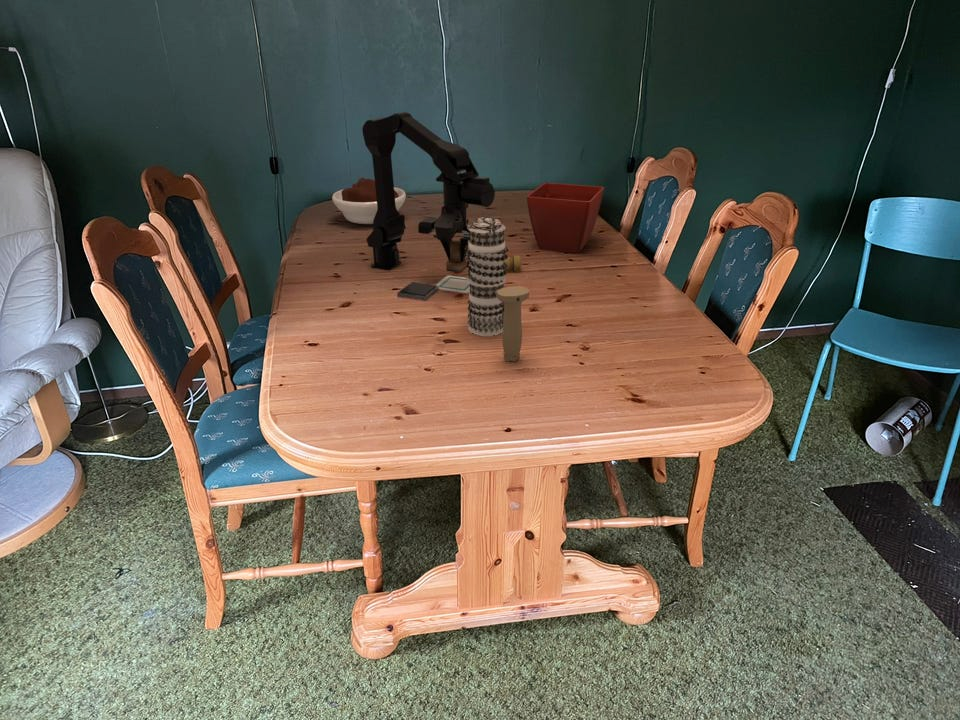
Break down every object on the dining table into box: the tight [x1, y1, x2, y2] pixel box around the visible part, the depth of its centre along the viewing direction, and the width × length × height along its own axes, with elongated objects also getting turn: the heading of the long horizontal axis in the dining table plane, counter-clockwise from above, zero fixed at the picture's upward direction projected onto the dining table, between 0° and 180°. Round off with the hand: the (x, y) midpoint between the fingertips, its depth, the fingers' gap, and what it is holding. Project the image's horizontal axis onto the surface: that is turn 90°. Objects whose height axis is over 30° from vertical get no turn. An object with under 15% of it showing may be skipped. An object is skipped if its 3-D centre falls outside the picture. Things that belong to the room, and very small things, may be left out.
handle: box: [497, 285, 530, 363], centre depth 129 cm, size 5×6×15 cm
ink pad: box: [396, 281, 439, 302], centre depth 165 cm, size 8×8×1 cm
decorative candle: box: [465, 216, 509, 337], centre depth 140 cm, size 9×9×25 cm
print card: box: [435, 274, 470, 295], centre depth 170 cm, size 10×10×1 cm
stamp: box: [445, 239, 467, 274], centre depth 167 cm, size 4×4×7 cm
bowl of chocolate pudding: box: [331, 177, 407, 225], centre depth 221 cm, size 25×25×15 cm
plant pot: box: [526, 182, 605, 254], centre depth 195 cm, size 19×19×17 cm
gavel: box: [503, 255, 522, 273], centre depth 186 cm, size 21×5×10 cm
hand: (456, 260), depth 167 cm, fingers closed on stamp, 3 cm apart
